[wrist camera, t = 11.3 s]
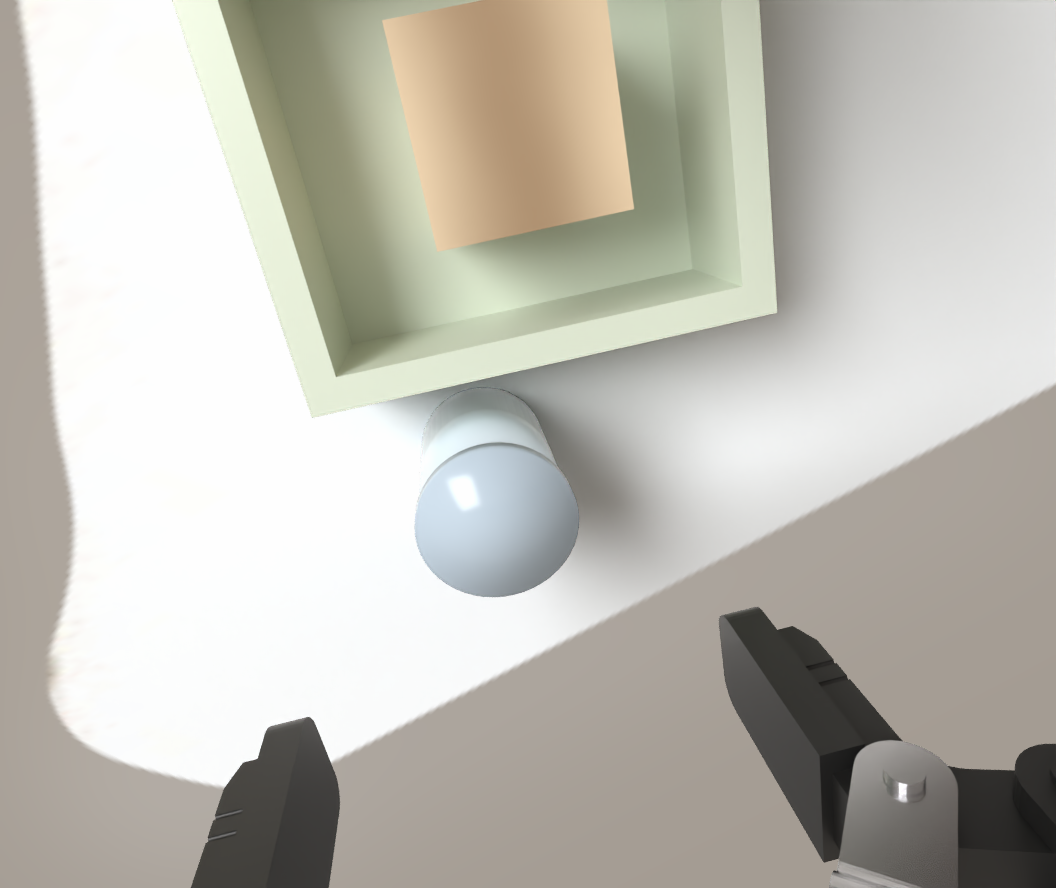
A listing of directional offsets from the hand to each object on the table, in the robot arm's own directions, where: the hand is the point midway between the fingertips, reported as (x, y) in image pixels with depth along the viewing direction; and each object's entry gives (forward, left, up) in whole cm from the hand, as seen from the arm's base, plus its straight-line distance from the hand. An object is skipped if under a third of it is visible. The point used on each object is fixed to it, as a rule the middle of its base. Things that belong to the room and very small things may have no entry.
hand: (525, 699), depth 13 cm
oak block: (-3, -10, -13) cm, 17 cm away
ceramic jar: (0, 0, -14) cm, 14 cm away
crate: (-3, -10, -14) cm, 18 cm away
